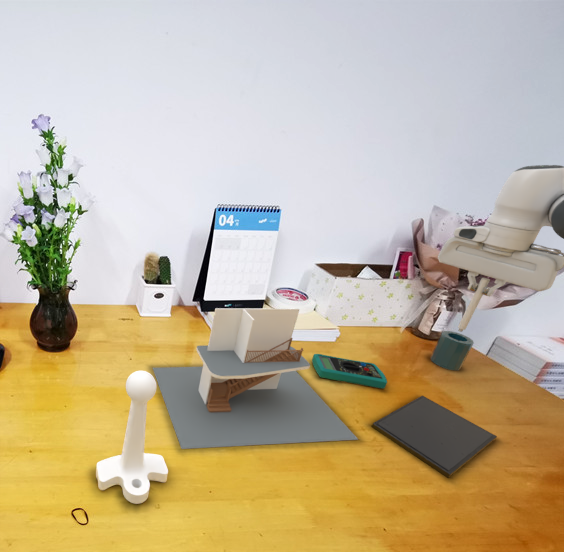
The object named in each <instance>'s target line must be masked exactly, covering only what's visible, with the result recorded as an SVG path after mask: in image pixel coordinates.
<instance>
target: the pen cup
mask: <svg viewBox="0 0 564 552" xmlns="http://www.w3.org/2000/svg"><path fill="white" fill-rule="evenodd" d="M474 344H475V343H474V340H473V339H472V338H470V337H468V336H466V335H464V334H462V333H461V332H460V333H459V332H456V331H451V330H443V331H441V334H440V335H439V337H438V340H437V341H436V344H435V346H434V348H433V351H432V352H431V355H430V358H429V359H430V362H432V363H433V364H435V365H436V366H438V367H440V368H443V369H445V370H449V371H455V372H456V371H460V370H461V369H462V367H463V365H464V363H465V361H466V359H467V357H468V355H469V354H470V352H471V349H472V347H473V346H474Z"/></svg>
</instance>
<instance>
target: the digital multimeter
mask: <svg viewBox="0 0 564 552" xmlns="http://www.w3.org/2000/svg"><path fill="white" fill-rule="evenodd" d="M311 362H312V365H313V368H314V370H315V372H316V373H317V375H318V376H319V378H321V379H325V380H326V379H328V380H333V381H337V382H338V381H339V382H343V383H349V384H354V385H360V386H364V387H369V388H370V387H371V388H374V389H375V388H376V389H381V390H383V389H385V388H386V386H387V384H388V380H387V376H386V375H385V374H384V372H383V371H382V370H381V369H380V367H379V366H377V365H376V363H373V362H365V361H361V360H355V359H350V358H349V359H348V358H343V357H338V356H331V355H326V354H321V353H313V355H312V359H311Z"/></svg>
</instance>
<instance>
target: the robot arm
mask: <svg viewBox="0 0 564 552" xmlns="http://www.w3.org/2000/svg"><path fill="white" fill-rule="evenodd" d="M544 227H550V228H552V230H553V231H554V233H555V234H556V235H557V236H558V237H560V238H561V239H563V240H564V166H563V165H558V164H552V165H551V164H539V165H528V166H527V165H526V166H522V167H520V168H517V169H516V170H514V171H512V173H510V175H509V176H508V177H507V179H506V181H504V184H503V185H502V187H501V189H500V191H499V193H498V195H497V197H496V199H495V201H494V208H493V211H492V212H491V214H490V215H489V216H488V218H487V219H486V221H485V223H484V224H483V225H480V224H479V225H477V224H476V225H465V226H459V227H456V228H455V229H454V231H453V236H452V237H449V238H447V240H446V241H445V243H444V244H443V245H442V247H441V249H440V251H439V253H438V255H437V260H438V262H439V263H440V264H444V265H446V266H447V265H448V266H451V267H455V268H458V269H461V270H465V271H468V273H467V279H468V283H469V284H468V286H467V291H472V292H474V293H475V291H476V289H477V287H478V285H479V283H477V280H476V279H477V278H476V277H478V276H479V275H482V276H485V277H489V278H492V279H495V280H494V284H495V285H493V286H487V287H485V288H484V292H482V294H483V295H482V296H486V297H489V298H490V297H492V296H493V295H494V293H495V291H496V290H498V289H499V288H501V287H503V286H505V285H506V283H509V284H513V285H515V286H519V287H523V288H526V289H529V290H532V291H536V292H544V291H547V290H549V289H551V288H552V287H553V285H554V282H555V281H556V278H557V275H558V272H559V271H561V270H562V269H564V252H562V250H560V249H558V248H552V247H547V246H544V245H540V244H537V243H535V241H536V239H537V237H538V235H539V234H540V231H541V229H542V228H544Z"/></svg>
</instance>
